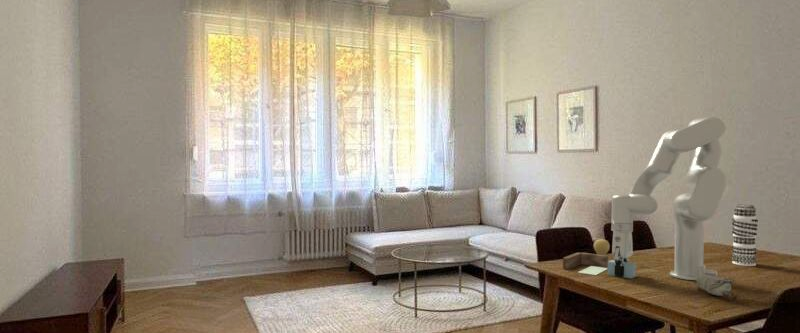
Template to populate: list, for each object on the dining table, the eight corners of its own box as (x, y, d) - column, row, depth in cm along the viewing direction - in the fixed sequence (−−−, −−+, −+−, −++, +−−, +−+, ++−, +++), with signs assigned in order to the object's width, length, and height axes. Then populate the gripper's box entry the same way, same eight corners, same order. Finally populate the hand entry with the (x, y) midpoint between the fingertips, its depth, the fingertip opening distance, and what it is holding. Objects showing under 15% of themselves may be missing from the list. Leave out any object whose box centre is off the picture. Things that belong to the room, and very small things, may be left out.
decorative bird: (705, 289, 176) (705, 267, 175) (741, 303, 160) (741, 279, 159) (690, 289, 175) (690, 268, 175) (724, 303, 159) (725, 279, 159)
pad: (608, 268, 206) (608, 268, 206) (595, 275, 195) (595, 274, 195) (591, 266, 211) (591, 265, 211) (577, 272, 199) (577, 272, 199)
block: (635, 276, 194) (636, 263, 194) (632, 278, 190) (632, 265, 190) (611, 272, 200) (611, 259, 200) (607, 274, 196) (607, 261, 196)
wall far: (582, 263, 217) (582, 252, 217) (567, 269, 205) (567, 258, 205) (577, 262, 218) (578, 252, 218) (562, 268, 206) (562, 257, 206)
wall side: (607, 266, 210) (608, 255, 210) (606, 267, 209) (606, 256, 208) (577, 262, 218) (578, 252, 218) (576, 263, 217) (576, 252, 216)
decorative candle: (749, 261, 220) (750, 203, 219) (762, 266, 211) (763, 206, 210) (726, 261, 221) (727, 203, 220) (738, 265, 212) (739, 205, 211)
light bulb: (607, 264, 214) (607, 240, 214) (591, 262, 218) (591, 239, 218) (611, 262, 219) (611, 238, 219) (596, 260, 223) (596, 237, 223)
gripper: (625, 230, 186) (624, 280, 186) (638, 225, 199) (638, 272, 199) (604, 228, 191) (603, 277, 191) (618, 224, 203) (618, 269, 204)
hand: (621, 274), depth 195 cm, fingers closed on block, 4 cm apart
